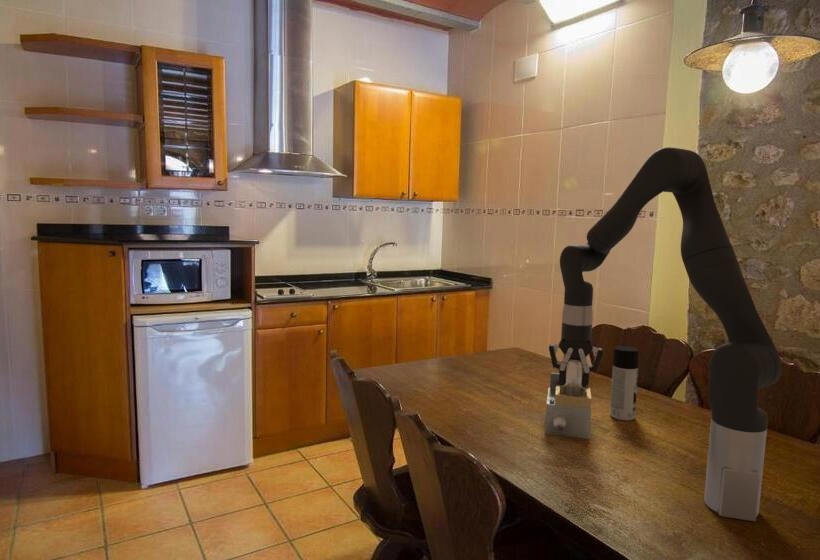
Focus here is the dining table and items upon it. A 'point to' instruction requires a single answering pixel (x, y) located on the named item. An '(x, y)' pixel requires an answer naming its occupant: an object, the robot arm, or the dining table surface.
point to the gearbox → (567, 411)
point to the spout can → (574, 378)
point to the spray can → (624, 383)
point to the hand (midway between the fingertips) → (573, 384)
